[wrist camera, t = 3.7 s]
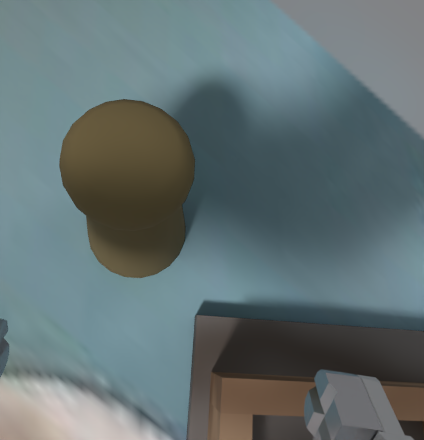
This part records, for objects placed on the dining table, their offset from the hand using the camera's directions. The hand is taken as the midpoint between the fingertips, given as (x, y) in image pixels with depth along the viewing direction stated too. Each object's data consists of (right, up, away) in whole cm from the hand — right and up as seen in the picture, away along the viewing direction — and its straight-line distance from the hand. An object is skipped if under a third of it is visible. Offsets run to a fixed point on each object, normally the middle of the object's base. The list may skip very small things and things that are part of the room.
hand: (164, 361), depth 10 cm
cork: (-4, +3, +14) cm, 15 cm away
